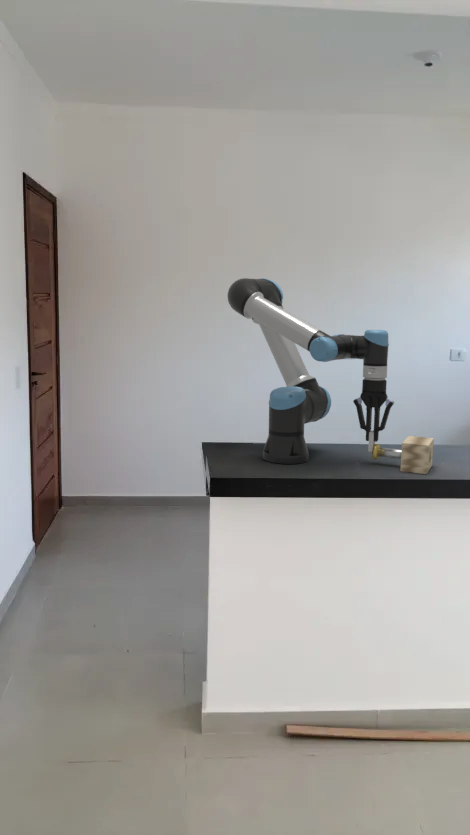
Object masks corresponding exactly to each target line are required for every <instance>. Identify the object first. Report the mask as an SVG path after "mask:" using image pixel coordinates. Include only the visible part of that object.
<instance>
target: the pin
mask: <svg viewBox="0 0 470 835" xmlns="http://www.w3.org/2000/svg"><path fill="white" fill-rule="evenodd" d="M401 453H402V449H400V448H399V449H397V448H389V447H388V448H387V447H381V445H380V444H379V443H375V444H374V445H373V449H372V452H371V458H372V460H379V458H387V459H397V460H401Z"/></svg>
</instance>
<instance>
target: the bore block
mask: <svg viewBox="0 0 470 835" xmlns="http://www.w3.org/2000/svg"><path fill="white" fill-rule="evenodd" d="M415 436H416V435H408V436H407V437H406V438H405V439H404V440H403V441H402V442H401V450H402V453H401V459H400V472H403V473H404V472H405V473H411V474H413V473H414V474H420V475H421V474H423V475H427V474H428V473H429V471H430V470H431V468H432V466H433V458H434V455H433V454H434V442H435V439H434V437H425V436H424V437H423V436H416V437H415Z"/></svg>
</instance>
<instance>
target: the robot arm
mask: <svg viewBox="0 0 470 835" xmlns="http://www.w3.org/2000/svg"><path fill="white" fill-rule="evenodd" d="M283 293H284V292H283V290H282V289H281V287H280V285H279V284H278V283H277V282H276V281H274V280H271V279H268V278H247V277H245V278H240V279H237V280H235V281H234V282H233V283H231V285H230V287H229V288H228V291H227V301H228V304H229V306H230V308H231V309H232V310H233V311H234V312H236V313H238V314H239V315H241V316H242V317H244V318H246V319H247V320H248V319H249V320H250V319H251V320H252V322H253V323H254V324H257V325H259V327H260V329H261V332H262V334H263V336H264V338H265V341H266V343H267V345H268V347H269V349H270V352H271V354H272V356H273V359H274V360H275V363H276V365H277V368H278V369H279V372H280V374H281V376H282V379H283V381H284V382H285V385H286V386H285V387H284V386H281V387H277V388H275V389H273V390H272V391H271V392H270V394H269V400H268V405H269V406H268V436H267V439H266V442H265V444H264V447H263V451H262V459H263V460H264V461H266V462H270V463H275V464H280V465H281V464H285V465H289V464H290V465H295V464H301V463H305V462H308V461H309V455H310V454H309V449H308V447H307V443H306V439H305V424H309V423H313V422H318V421H319V420H321V419H324V418H325V417H326V416H327V415H328V414H329V413H330V409H331V406H332V398H331V394H330V393H329V391H328V390H327V389H326V388H325V387H322V386H320V384H319V383H318V381H317V378H316V377H315V376H312V375H310V374H309V371H308V370H307V367H306V365H305V362H304V361H303V359H302V356H301V354H300V352H299V349H298V348H297V345H298V346H299V347H301V348H302V349H305V350H306V351H307V352H309V354H310V356H311V357H312V359H314V360H315V361H316V362H322V363H326V362H332V361H337V360H346V359H354V360H357V359H358V360H363V366H362V377H363V379H362V383H361V384H362V387H361V394H360V396H359V397H357V398H354V399H353V404H354V405H355V408H356V412H357V416H358V423H359V428H360V430H364V431H365V441H366V442H368V450H367V451H368V453H372V449H373V445H374V444H376V442H378V441H379V435H380V434H379V432H381V431H383V430H385V428H386V425H387V421H388V419H389V418H388V417H389V416H390V415H389V414H390V412H391V408H392V407H393V406H394V404H395V402H394V400H391V399H389V398H388V394H387V382H388V381H387V380H386V379H387V378H388V358H389V346H390V344H389V333H388V330H387V331H386V330H385V329H366V330H365V331H364V333H363V334H364V335H353V334H333V335H329V334H328V333H326V332H325V331H322V329H319V328H317V327H316V326H314V325H312V324H311V323H309V322H307V321H306V320H304V319H302V318H300V317H298V316H296V315H295V314H293V313H291V312H290V311H288V310H286V309H284V306H283V299H284V294H283ZM362 402H363V403H362ZM362 404H364V405H365V407H366V408H365V410H366V415H364V410H363V405H362ZM384 404H385V406H386V407H385V409H384V413H383V416H382V419H381V418H380V416H381V407H382V406H383V405H384ZM373 408H374V410H373ZM373 411H374V417H373V415H372V414H373ZM365 416H366V417H365ZM372 417H373V418H374V420H372V419H373V418H372ZM380 419H381V421H380ZM372 421H373V430H372Z"/></svg>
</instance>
